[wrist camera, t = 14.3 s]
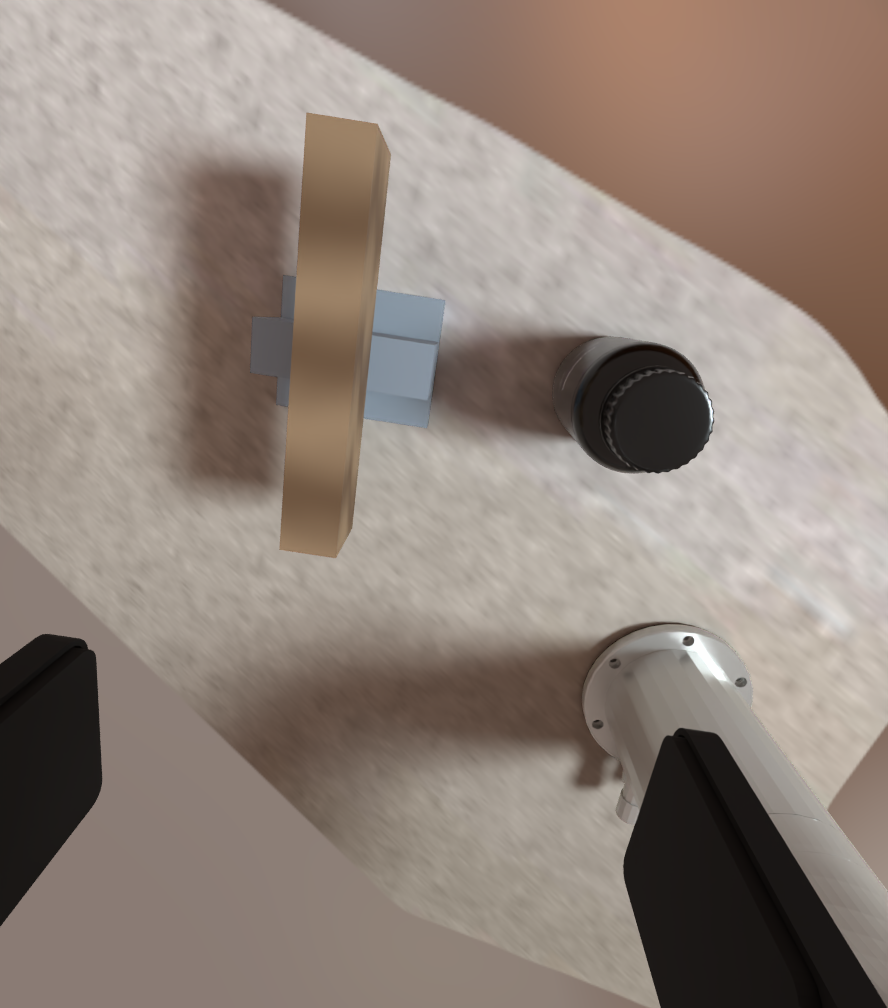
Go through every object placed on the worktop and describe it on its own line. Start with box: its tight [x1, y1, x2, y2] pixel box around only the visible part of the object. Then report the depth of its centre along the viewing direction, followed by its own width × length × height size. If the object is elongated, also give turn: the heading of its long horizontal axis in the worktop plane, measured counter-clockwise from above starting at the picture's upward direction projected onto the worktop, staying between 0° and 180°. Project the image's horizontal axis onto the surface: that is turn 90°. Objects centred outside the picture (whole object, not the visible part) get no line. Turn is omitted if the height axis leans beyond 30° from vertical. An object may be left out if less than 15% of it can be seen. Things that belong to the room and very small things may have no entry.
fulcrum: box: [250, 275, 445, 428], centre depth 34 cm, size 8×10×6 cm
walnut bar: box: [280, 113, 391, 558], centre depth 29 cm, size 20×3×4 cm, turn 172°
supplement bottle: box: [552, 337, 714, 473], centre depth 31 cm, size 7×7×12 cm
